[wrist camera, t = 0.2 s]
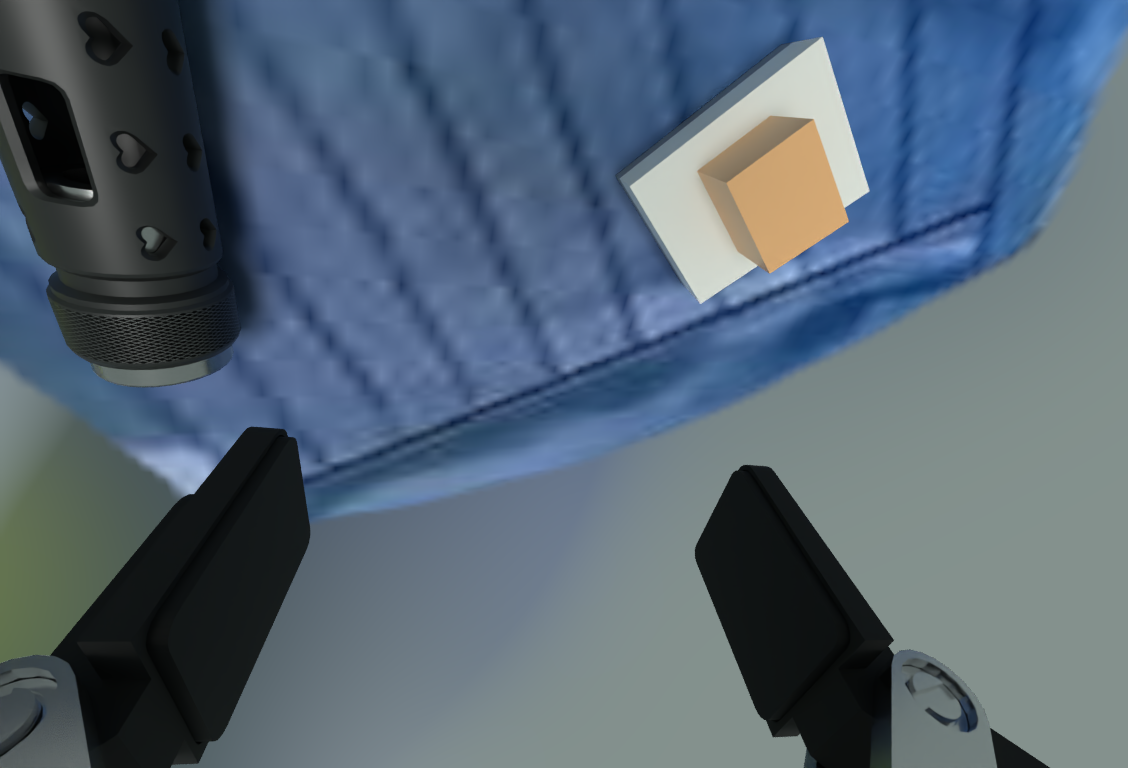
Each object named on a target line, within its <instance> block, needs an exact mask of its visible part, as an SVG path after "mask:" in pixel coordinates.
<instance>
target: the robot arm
mask: <svg viewBox="0 0 1128 768" xmlns="http://www.w3.org/2000/svg"><path fill="white" fill-rule="evenodd" d="M309 539H310V524H309V518H308V511H307V505H306V498H305V492H304V485H303V479H302V472H301V465H300V459H299V452H298V446H297V441H296V439H295V438H293V437H288V435H287V432H286V431H285V430H284V429H275V428H263V427H249V428H247V429H246V430H245V431H244V432H243V433H242V435H241V436H240V437H239V438H238V440H237V441H236V442H235V443H234V445H233V446H232V447H231V448H230V450H229V451H228V452H227V453H226V455H225V456H224V457H223V458H222V460H221V461H220V462H219V463H218V465H217V466H216V467H215V469H214V470H213V471H212V472H211V474H210V475H209V476H208V477H207V479H206V480H205V481H204V482H203V484H202V485H201V486H200V487H199V489H198V490H197V491H196V492H195V494H189V495H187V496H185V497H183V498H181V499H180V500H179V501H178V502H177V503H176V504H175V505H174V506H173V507H172V508H171V510H170V511H169V512H168V513H167V515H166V516H165V517H164V518H163V519H162V521H161V522H160V523H159V524H158V526H157V527H156V528H155V529H154V530H153V531H152V533H151V534H150V535H149V536H148V538H147V539H146V540H145V541H144V542H143V544H142V545H141V546H140V547H139V549H138V550H137V551H136V552H135V553H134V555H133V556H132V557H131V558H130V559H129V561H128V562H127V563H126V564H125V565H124V567H123V568H122V569H121V570H120V571H119V573H118V574H117V575H116V576H115V578H114V579H113V580H112V581H111V582H110V584H109V585H108V586H107V587H106V588H105V590H104V591H103V592H102V593H101V595H100V596H99V597H98V598H97V599H96V601H95V602H94V603H93V604H92V606H91V607H90V608H89V609H88V610H87V611H86V613H85V614H84V615H83V616H82V618H81V619H80V620H79V621H78V622H77V624H76V625H75V626H74V627H73V628H72V630H71V631H70V632H69V633H68V634H67V636H66V637H65V638H64V639H63V641H62V642H61V643H60V644H59V645H58V647H57V648H56V649H55V650H54V651H53V653H52V654H51V655H50V656H45V655H32V656H27V657H21V658H15V659H11V660H8V661H5V662H3V663H0V768H170V767H171V765H175V764H195V763H196V764H197V763H199V761H200V759H201V757H202V754H203V753H204V750H205V748H206V746H207V744H208V742H209V741H216V740H218V739H219V738H220V737H221V735H222V734H223V732H224V731H225V729H226V727H227V725H228V723H229V720H230V718H231V716H232V714H233V712H234V709H235V707H236V705H237V703H238V700H239V698H240V696H241V694H242V692H243V689H244V687H245V685H246V683H247V681H248V678H249V676H250V674H251V672H252V669H253V667H254V665H255V663H256V660H257V658H258V656H259V654H260V652H261V649H262V647H263V645H264V642H265V641H266V638H267V636H268V634H269V632H270V629H271V627H272V625H273V623H274V621H275V618H276V616H277V614H278V612H279V609H280V607H281V605H282V603H283V600H284V598H285V596H286V594H287V592H288V590H289V587H290V585H291V583H292V581H293V578H294V576H295V574H296V572H297V570H298V567H299V565H300V563H301V561H302V558H303V556H304V554H305V552H306V549H307V547H308V544H309ZM695 559H696V562H697V565H698V567H699V570H700V572H701V575H702V577H703V580H704V582H705V585H706V587H707V590H708V592H709V594H710V597H711V599H712V602H713V604H714V607H715V609H716V612H717V614H718V617H719V619H720V621H721V624H722V627H723V629H724V631H725V634H726V637H727V639H728V641H729V644H730V646H731V649H732V651H733V654H734V656H735V659H736V661H737V664H738V666H739V669H740V671H741V674H742V676H743V679H744V681H745V684H746V686H747V689H748V691H749V694H750V696H751V699H752V701H753V704H754V706H755V708H756V710H757V712H758V714H759V715H760V717H761V718H763V719H764V720H766V721H767V724H768V726H769V729H770V731H771V733H772V736H773V737H787V736H798V735H799V734H801V736H802V739H803V741H804V743H805V745H806V747H807V749H806V756H805V762H804V768H1049V767H1048V766H1046V765H1045V764H1044V763H1042V762H1041V761H1039V760H1037V759H1036V758H1035V757H1033V756H1031V755H1030V754H1029V753H1027V752H1026V751H1024V750H1022V749H1021V748H1020V747H1018V746H1017V745H1015V744H1014V743H1012V742H1010V741H1009V740H1007V739H1006V738H1005V737H1003V736H1002V735H1000V734H999V733H997V732H995V731H994V730H993V729H991V728H990V726H989V722H988V719H987V716H986V713H985V710H984V708H983V707H982V705H981V704H980V702H979V700H978V699H977V697H976V695H975V694H974V693H973V692H972V691H971V689H970V688H969V687H968V686H967V685H966V683H965V682H964V681H963V680H962V679H960V678H959V677H958V676H957V675H956V674H955V673H954V672H953V671H951V669H949V668H948V667H946V666H945V665H943V664H942V663H941V662H939V661H938V660H936V659H935V658H933V657H930V656H928V655H926V654H924V653H922V652H918V651H914V650H910V649H909V650H901V651H899V652H898V653H897V654H895V655H894V654H893V653H892V651H891V650H890V648H889V647H888V646H889V645H890V644H891V643H892V642H893V641H894V640H893V638H892V637H891V635H890V634H889V633H888V631H887V630H886V628H885V627H884V626H883V625H882V623H881V622H880V620H879V618H878V617H877V616H876V614H875V613H874V611H873V610H872V609H871V607H870V606H869V604H868V603H867V602H866V600H865V599H864V597H863V596H862V595H861V593H860V592H859V590H858V589H857V588H856V586H855V585H854V583H853V582H852V581H851V579H850V578H849V576H848V575H847V573H846V572H845V571H844V569H843V568H842V566H841V565H840V564H839V562H838V561H837V559H836V558H835V557H834V555H833V554H832V552H831V551H830V549H829V548H828V547H827V545H826V544H825V543H824V541H823V540H822V538H821V537H820V536H819V534H818V533H817V531H816V530H815V529H814V527H813V526H812V524H811V523H810V521H809V520H808V519H807V517H806V516H805V514H804V513H803V511H802V510H801V509H800V507H799V506H798V504H797V503H796V502H795V500H794V499H793V498H792V496H791V495H790V493H789V492H788V490H787V489H786V488H785V486H784V485H783V483H782V482H781V481H780V479H779V478H778V476H777V475H776V473H775V472H774V471H773V470H772V469H771V468H769V467H766V466H753V465H743V466H741V467H740V469H739V470H738V471H735V472H733V474H732V475H731V477H730V479H729V481H728V484H727V486H726V487H725V489H724V491H723V493H722V495H721V497H720V499H719V501H718V503H717V505H716V507H715V509H714V511H713V513H712V515H711V517H710V519H709V521H708V523H707V525H706V527H705V529H704V531H703V533H702V535H701V537H700V539H699V541H698V543H697V545H696V547H695Z"/></svg>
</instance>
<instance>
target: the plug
mask: <svg viewBox="0 0 1128 768" xmlns="http://www.w3.org/2000/svg"><path fill="white" fill-rule="evenodd" d="M697 172H698V174H699V176H700V178H701V180H702V182H703V184H704V186H705V188H706V190H707V192H708V194H709V196H710V198H711V200H712V202H713V204H714V206H715V208H716V210H717V212H718V214H719V216H720V218H721V220H722V222H723V224H724V225H725V227H726V229H727V231H728V233H729V235H730V237H731V239H732V241H733V243H734V245H735V247H736V249H737V251H738V252H739V253H740V254H742V255H743V256H745V257H746V258H748V259H749V260H751V261H752V262H753V263H755V264H756V265H758V266H759V267H761V268H762V269H764V270H765V271H767V272H768V273H771V272H773V271H774V270H776V269H777V268H779V267H780V266H782V265H784V264H785V263H787V262H788V261H790V260H791V259H793V258H794V257H796V256H797V255H799V254H800V253H802V252H803V251H805V250H806V249H808V248H809V247H811V246H812V245H814V244H815V243H817V242H818V241H820V240H822V239H823V238H825V237H826V236H828V235H829V234H831V233H832V232H834V231H835V230H837V229H838V228H840V227H841V226H843V225H844V224H846V223H847V222H849V220H848V218H847V215H846V212H845V209H844V206H843V203H842V200H841V197H840V194H839V191H838V188H837V185H836V182H835V180H834V177H833V174H832V171H831V168H830V165H829V162H828V159H827V156H826V153H825V150H824V147H823V145H822V142H821V139H820V136H819V133H818V130H817V127H816V124H815V121H814V119H808V118H794V117H781V116H769V117H768V118H767V119H766V120H764V121H763V122H762V123H760V124H759V125H758V126H756V127H755V128H754V129H752V130H751V131H750V132H748V133H747V134H746V135H744V136H743V137H742V138H740V139H739V140H738V141H736V142H735V143H734V144H732V145H731V146H730V147H728V148H727V149H726V150H724V151H723V152H722V153H720V154H719V155H718V156H716V157H715V158H714V159H712V160H711V161H710V162H708V163H707V164H706V165H704V166H703V167H702V168H700V169H699V170H698V171H697Z"/></svg>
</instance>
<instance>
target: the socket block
mask: <svg viewBox="0 0 1128 768" xmlns="http://www.w3.org/2000/svg"><path fill="white" fill-rule="evenodd" d="M769 116H781V117H794V118H808V119H814V121H815V124H816V127H817V130H818V133H819V136H820V139H821V142H822V145H823V147H824V150H825V153H826V156H827V159H828V162H829V165H830V168H831V171H832V174H833V177H834V180H835V182H836V185H837V188H838V191H839V194H840V197H841V200H842V203H843V206H844V208H845V207H846V206H848V205H849V204H851V203H852V202H854V201H855V200H857V199H858V198H860V197H861V196H863V195H864V194H866V193H867V192H869V188H868V185H867V182H866V178H865V175H864V172H863V168H862V165H861V162H860V158H859V155H858V152H857V149H856V145H855V142H854V139H853V135H852V132H851V129H850V126H849V122H848V119H847V116H846V112H845V109H844V106H843V103H842V99H841V96H840V93H839V89H838V86H837V83H836V79H835V76H834V73H833V70H832V66H831V63H830V60H829V56H828V53H827V50H826V47H825V43H824V40H823V37H819V38H813V39H808V40H803V41H798V42H792V43H787V44H782V45H780V46H779V47H777V48H776V49H775V50H774V51H772V52H771V53H770V54H769V55H767V56H766V57H765V58H764V59H762V60H761V61H760V62H759V63H757V64H756V65H755V66H753V67H752V68H751V69H750V70H748V71H747V72H746V73H745V74H743V75H742V76H741V77H740V78H738V79H737V80H736V81H734V82H733V83H732V84H731V85H729V86H728V87H727V88H726V89H724V90H723V91H722V92H721V93H719V94H718V95H717V96H716V97H714V98H713V99H712V100H710V101H709V102H708V103H707V104H705V105H704V106H703V107H702V108H700V109H699V110H698V111H697V112H695V113H694V114H693V115H691V116H690V117H689V118H688V119H686V120H685V121H684V122H683V123H681V124H680V125H679V126H678V127H676V128H675V129H674V130H673V131H671V132H670V133H669V134H667V135H666V136H665V137H664V138H662V139H661V140H660V141H659V142H657V143H656V144H655V145H654V146H652V147H651V148H650V149H648V150H647V151H646V152H645V153H643V154H642V155H641V156H640V157H638V158H637V159H636V160H635V161H633V162H632V163H631V164H630V165H628V166H627V167H626V168H624V169H623V170H622V171H621V172H619V173H618V174H617V175H616V177H617V179H618V181H619V182H620V184H621V186H622V187H623V189H624V190H625V192H626V194H627V195H628V197H629V199H630V200H631V202H632V204H633V205H634V207H635V208H636V210H637V212H638V213H639V215H640V217H641V218H642V220H643V222H644V223H645V225H646V226H647V228H648V230H649V231H650V233H651V235H652V236H653V238H654V240H655V241H656V243H657V244H658V246H659V248H660V249H661V251H662V253H663V254H664V256H665V258H666V259H667V261H668V262H669V264H670V266H671V267H672V269H673V271H674V272H675V274H676V276H677V277H678V279H679V280H680V282H681V283H682V284H683V285H684V287H685V288H686V289H687V290H688V291H689V292H690V293H691V294H692V295H693V296H694V297H695V299H696V300H697V301H698V302H699V303H700V304H701V303H703V302H704V301H706V300H707V299H709V298H710V297H712V296H713V295H715V294H716V293H718V292H719V291H721V290H722V289H724V288H725V287H727V286H728V285H730V284H731V283H733V282H734V281H736V280H737V279H739V278H740V277H742V276H743V275H745V274H746V273H748V272H749V271H751V270H752V269H754V268H755V267H757V266H758V265H756V264H755V263H753V262H752V261H751V260H749V259H748V258H746V257H745V256H743V255H742V254H740V253H739V252H738V251H737V249H736V247H735V245H734V243H733V241H732V239H731V237H730V235H729V233H728V231H727V229H726V227H725V225H724V224H723V222H722V220H721V218H720V216H719V214H718V212H717V210H716V208H715V206H714V204H713V202H712V200H711V198H710V196H709V194H708V192H707V190H706V188H705V186H704V184H703V182H702V180H701V178H700V176H699V174H698V172H697V171H698V170H699V169H700V168H702V167H703V166H704V165H706V164H707V163H708V162H710V161H711V160H712V159H714V158H715V157H716V156H718V155H719V154H720V153H722V152H723V151H724V150H726V149H727V148H728V147H730V146H731V145H732V144H734V143H735V142H736V141H738V140H739V139H740V138H742V137H743V136H744V135H746V134H747V133H748V132H750V131H751V130H752V129H754V128H755V127H756V126H758V125H759V124H760V123H762V122H763V121H764V120H766V119H767V118H768V117H769Z"/></svg>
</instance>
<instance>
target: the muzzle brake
mask: <svg viewBox="0 0 1128 768" xmlns="http://www.w3.org/2000/svg"><path fill="white" fill-rule="evenodd" d="M22 108H23V109H24V110H26V111H27V112H28V113H29V114H31V115H32V116H33V118H32V119H31V121H30V123H29V120H28V119H27V118H26V117H25V115H24V113H23V110H22ZM0 159H1V162H2V164H3V167H4V170H5V172H6V175H7V177H8V180H9V182H10V185H11V187H12V190H13V193H14V195H15V198H16V200H17V203H18V205H19V207H20V209H21V211H22V213H23V215H24V216H25V217H26V224H27V227H28V229H29V232H30V235H31V238H32V241H33V244H34V246H35V249H36V251H37V254H38V255H39V256H40V257H41V258H42V259H43V260H44V261H45V262H47V263H48V264H50V265H52V266H54V267H55V268H56V270H57V271H56V272H54V273H53V274H52V275H51V276H50V278H49V280H48V281H49V285H48V287H47V289H46V292H47V296H48V299H49V302H50V304H51V307H52V309H53V312H54V314H55V317H56V319H57V322H58V324H59V327H60V329H61V332H62V334H63V337H64V339H65V342H66V344H67V346H68V347H69V348H70V349H71V350H72V351H73V352H74V353H75V354H77V355H78V356H80V357H81V358H83V359H85V360H86V361H88V362H90V364H91V366H92V369H93V371H94V372H95V373H96V374H97V375H98V376H99V377H100V378H102V379H104V380H106V381H108V382H111V383H114V384H117V385H123V386H129V387H160V386H169V385H176V384H181V383H186V382H190V381H193V380H197V379H200V378H203V377H206V376H208V375H211V374H213V373H215V372H216V371H218V370H220V369H222V368H223V367H224V366H225V365H227V364H228V362H229V361H230V360H231V358H232V356H233V353H234V352H233V346H232V344H233V343H234V342H235V340H236V339H237V337H238V336H239V333H240V330H241V326H240V320H239V315H238V309H237V303H236V297H235V292H234V286H233V282H232V281H231V280H230V278H229V277H228V276H227V274H226V272H225V271H224V270H223V269H221V268H219V267H218V266H217V264H216V263H217V262H219V261H220V259H221V257H222V254H223V250H222V244H221V239H220V233H219V228H218V222H217V217H216V211H215V205H214V200H213V194H212V189H211V183H210V177H209V172H208V166H207V161H206V155H205V150H204V144H203V138H202V133H201V127H200V122H199V116H198V110H197V105H196V99H195V94H194V88H193V83H192V77H191V71H190V66H189V60H188V55H187V49H186V43H185V38H184V32H183V27H182V21H181V16H180V10H179V4H178V0H0Z"/></svg>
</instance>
